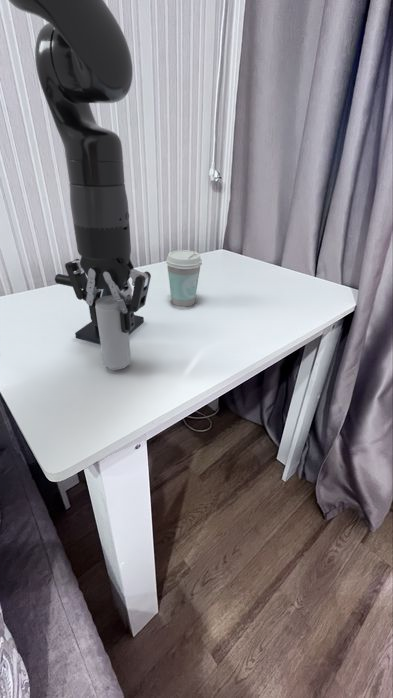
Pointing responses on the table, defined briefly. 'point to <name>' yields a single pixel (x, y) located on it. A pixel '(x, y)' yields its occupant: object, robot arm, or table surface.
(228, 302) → the table surface
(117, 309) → the beverage can
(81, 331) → the bracket
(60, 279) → the lever
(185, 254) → the coffee cup
